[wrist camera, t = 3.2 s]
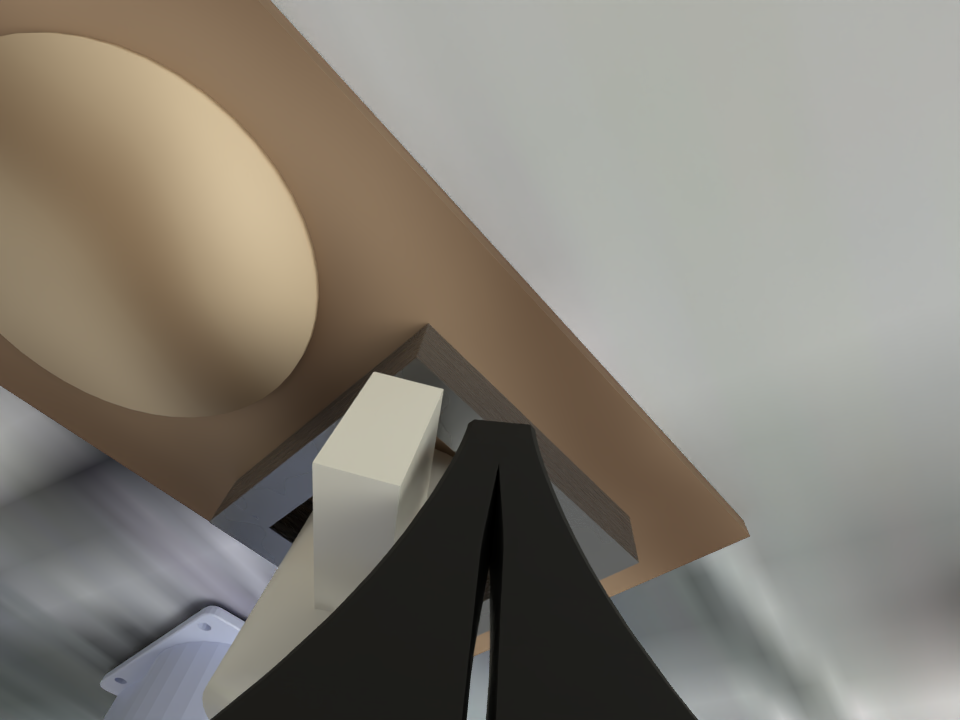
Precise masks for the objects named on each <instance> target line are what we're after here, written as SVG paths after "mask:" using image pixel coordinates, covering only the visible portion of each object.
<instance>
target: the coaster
mask: <svg viewBox="0 0 960 720" xmlns="http://www.w3.org/2000/svg"><path fill="white" fill-rule="evenodd" d="M318 301H319V284H318V270H317V265H316V259H315V254H314V249H313V245H312V242H311V239H310V236H309V233H308V230H307V227H306V223H305V221H304V218H303V216H302V214H301V212H300V210H299V208H298V205H297V203H296V201H295V199H294V197H293V195H292V193H291V191H290V190H289V188H288V186H287V185H286V183H285V181H284V180H283V178H282V176H281V174H280V173H279V171H278V169H277V168H276V167H275V165H274V164H273V163H272V161H271V160H270V159H269V157H268V156H267V155H266V153H265V152H264V151H263V149H262V148H261V147H260V145H259V144H258V143H257V142H256V141H255V139H254V138H253V137H252V136H251V135H250V134H249V133H248V132H247V131H246V130H245V129H244V128H243V126H242V125H241V124H240V123H239V122H238V121H237V120H236V119H235V118H234V117H233V116H232V115H231V114H230V113H228V112H227V111H226V110H225V109H224V108H223V107H222V106H220V105H219V104H218V103H217V102H216V101H215V100H214V99H213V98H211V97H210V96H209V95H208V94H206V93H205V92H204V91H202V90H201V89H199V88H198V87H197V86H195V85H194V84H192V83H191V82H190V81H188V80H187V79H185V78H184V77H182V76H181V75H179V74H178V73H176V72H174V71H172V70H171V69H169V68H167V67H165V66H163V65H162V64H160V63H158V62H156V61H154V60H153V59H151V58H149V57H146V56H144V55H141V54H139V53H137V52H134V51H132V50H129V49H127V48H125V47H122V46H120V45H117V44H113V43H109V42H106V41H102V40H99V39H95V38H91V37H88V36H80V35H72V34H65V33H15V34H10V35H5V36H0V334H1V335H2V336H3V337H5V338H6V339H7V340H8V341H9V342H10V343H11V344H13V345H14V346H15V347H16V348H17V349H18V350H20V351H21V352H22V353H23V354H25V355H26V356H27V357H29V358H30V359H32V360H33V361H34V362H36V363H37V364H38V365H40V366H41V367H42V368H44V369H46V370H47V371H49V372H50V373H52V374H54V375H55V376H57V377H58V378H60V379H62V380H63V381H65V382H67V383H69V384H71V385H73V386H74V387H76V388H78V389H80V390H82V391H84V392H86V393H88V394H91V395H93V396H95V397H98V398H100V399H102V400H105V401H107V402H110V403H113V404H116V405H119V406H122V407H125V408H128V409H132V410H136V411H140V412H145V413H149V414H155V415H162V416H169V417H190V418H194V417H206V416H215V415H220V414H225V413H229V412H233V411H236V410H239V409H241V408H244V407H247V406H249V405H251V404H253V403H255V402H257V401H259V400H261V399H263V398H264V397H266V396H267V395H268V394H270V393H271V392H272V391H274V390H275V389H276V388H277V387H279V386H280V385H281V383H282V382H283V381H284V380H285V379H286V378H287V377H288V376H289V375H290V374H291V372H292V371H293V370H294V368H295V367H296V365H297V364H298V362H299V360H300V359H301V357H302V356H303V354H304V353H305V351H306V348H307V346H308V344H309V342H310V339H311V337H312V334H313V330H314V326H315V322H316V318H317V312H318Z"/></svg>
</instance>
